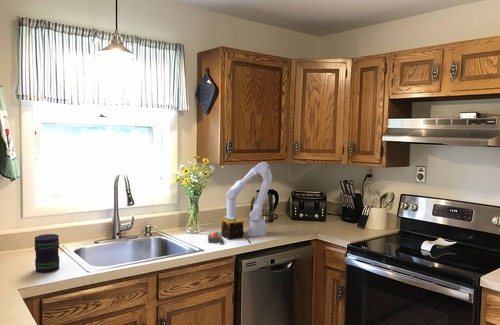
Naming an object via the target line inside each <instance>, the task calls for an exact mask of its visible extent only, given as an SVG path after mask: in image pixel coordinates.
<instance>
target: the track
mask: <svg viewBox="0 0 500 325" xmlns="http://www.w3.org/2000/svg"><path fill="white" fill-rule="evenodd" d="M215 233H217V234H219V235H220V237H221V243H219V245H220V246H221V245H225V242H224V239H223V237H222V236H221V232H215ZM243 233H244V235H243V236H244V237H245V240H247V242H248V243H249V244H251V243H252V242H251V240H250V238H249V237H248V236H247V234H246V233H245V231H244V232H243Z"/></svg>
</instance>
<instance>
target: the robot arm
mask: <svg viewBox="0 0 500 325" xmlns="http://www.w3.org/2000/svg"><path fill="white" fill-rule="evenodd" d="M271 170H272V169H271V167H270V165H269V164H268V162H266V161H261V162H259V163H257V164H256V165H255V166H253V167H252V168H251V169H250V170H249V172H248V173H246V175H244V177H243V178H242V179H238V180H236V181H235V182H234V184H233V185H232V186H230V187H229V189H228V190H227V191H226V193H225V197H226V215H224V218H225V219H231V221H235V218H237V196H238V194H240V193H241V192H242V190H244V189H245V188H246V184H247V182H248V181H250V180H251V179H252V178H253V177H254V176H255V175H258V174H259V175H260V177H261V178H262V179H263V180H262V183H261V186H260V189H259V192H258V195H257V198H256V200H255V202H254V205H253V208H252V210H251V211H250V212H249V231H248V232H247V234H248V235H249V237H264V236H267V234H266V226H267V225H266V220H265V219H262V215H263V208H264V204H265V201H266V198H267V195H268V192H269V190H270V189H269V188H270V186H271V183H272V181H273V175H272V171H271Z"/></svg>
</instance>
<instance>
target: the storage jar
mask: <svg viewBox="0 0 500 325" xmlns="http://www.w3.org/2000/svg"><path fill="white" fill-rule="evenodd" d="M59 240H60V238H59V235H58V234H56V233H47V234H41V235H40V234H39V235H36V236H35V237H34V251H35V259H34V266H35V272H36V273H37V274H49V273H50V274H51V273H55V272H58V271H59V270H60V255H59V248H60V241H59Z"/></svg>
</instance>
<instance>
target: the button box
mask: <svg viewBox="0 0 500 325" xmlns="http://www.w3.org/2000/svg"><path fill="white" fill-rule="evenodd" d="M217 235H218V237H211V234H207V242H208V244H217V243H218V244H220V243H222V241H221V237H222V236H221V237H220V235H221V234H220V235H219V234H217Z"/></svg>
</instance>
